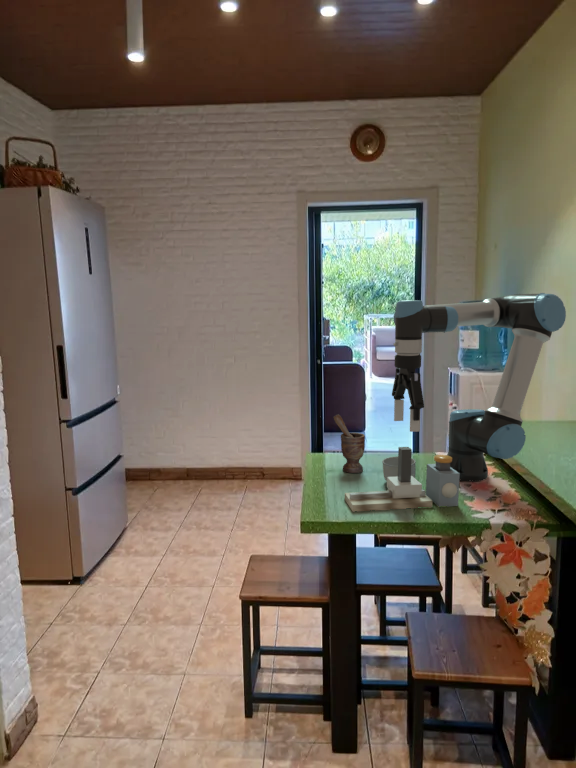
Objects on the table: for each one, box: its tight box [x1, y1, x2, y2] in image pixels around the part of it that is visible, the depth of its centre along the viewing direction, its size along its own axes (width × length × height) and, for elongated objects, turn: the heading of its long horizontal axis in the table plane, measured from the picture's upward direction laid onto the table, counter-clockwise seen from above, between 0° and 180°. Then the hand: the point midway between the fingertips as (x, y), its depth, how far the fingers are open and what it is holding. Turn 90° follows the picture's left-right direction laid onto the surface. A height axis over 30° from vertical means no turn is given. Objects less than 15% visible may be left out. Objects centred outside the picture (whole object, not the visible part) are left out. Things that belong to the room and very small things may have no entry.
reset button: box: [433, 454, 452, 471], centre depth 160 cm, size 5×5×7 cm
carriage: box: [386, 446, 423, 498], centre depth 158 cm, size 8×8×14 cm
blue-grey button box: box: [425, 463, 460, 508], centre depth 160 cm, size 6×10×10 cm, turn 7°
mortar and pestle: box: [332, 413, 366, 474], centre depth 190 cm, size 12×9×20 cm
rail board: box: [344, 488, 434, 513], centre depth 159 cm, size 24×10×4 cm, turn 97°
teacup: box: [381, 456, 417, 482], centre depth 178 cm, size 14×11×8 cm
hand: (406, 425), depth 156 cm, fingers open, 13 cm apart
